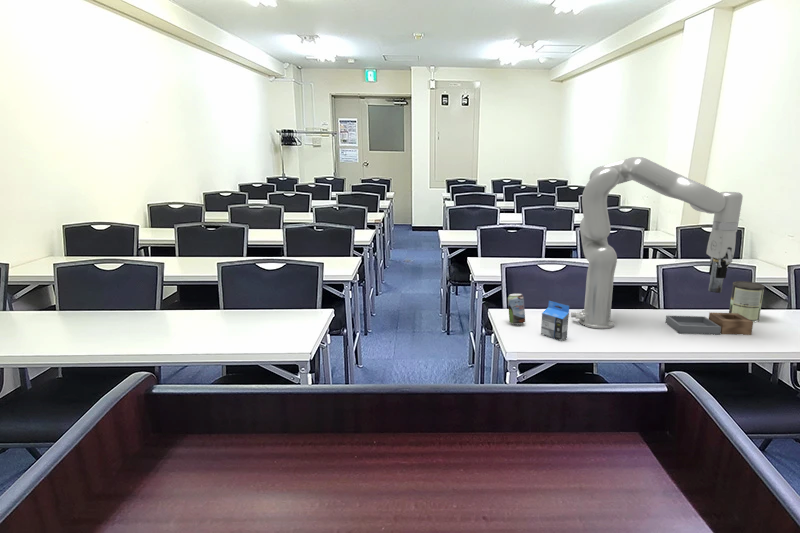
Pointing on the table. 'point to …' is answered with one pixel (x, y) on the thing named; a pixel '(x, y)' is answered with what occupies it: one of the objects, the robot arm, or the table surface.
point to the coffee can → (747, 299)
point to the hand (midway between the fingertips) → (717, 275)
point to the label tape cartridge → (555, 321)
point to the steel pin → (715, 282)
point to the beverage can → (516, 309)
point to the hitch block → (732, 323)
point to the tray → (693, 325)
